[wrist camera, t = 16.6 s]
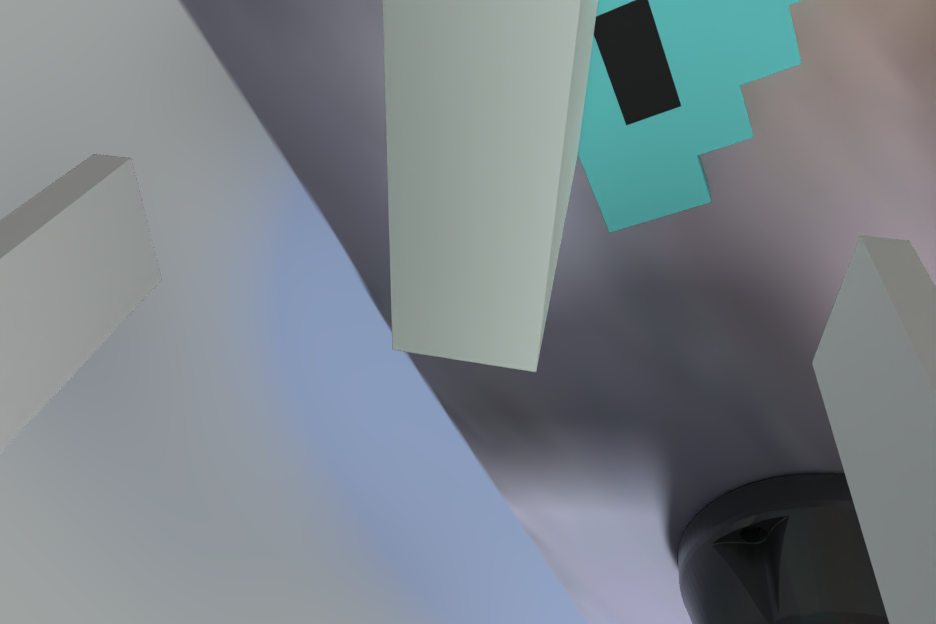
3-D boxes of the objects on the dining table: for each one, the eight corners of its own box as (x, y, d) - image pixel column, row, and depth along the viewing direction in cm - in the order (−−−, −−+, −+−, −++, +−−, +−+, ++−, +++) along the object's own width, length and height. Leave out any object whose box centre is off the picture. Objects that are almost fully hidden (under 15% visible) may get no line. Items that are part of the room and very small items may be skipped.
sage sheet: (577, 156, 32) (536, 372, 20) (482, 145, 32) (392, 349, 21) (623, -189, 24) (598, -147, 13) (500, -196, 25) (378, -160, 14)
